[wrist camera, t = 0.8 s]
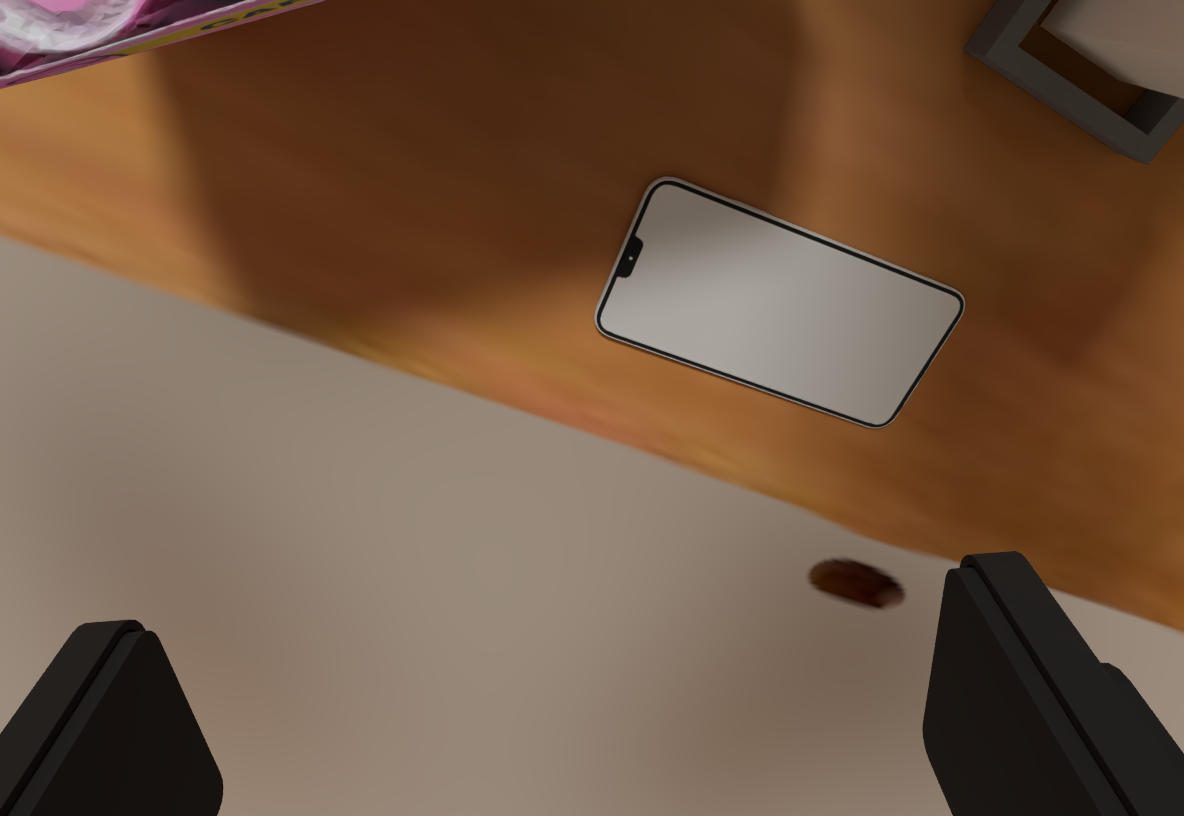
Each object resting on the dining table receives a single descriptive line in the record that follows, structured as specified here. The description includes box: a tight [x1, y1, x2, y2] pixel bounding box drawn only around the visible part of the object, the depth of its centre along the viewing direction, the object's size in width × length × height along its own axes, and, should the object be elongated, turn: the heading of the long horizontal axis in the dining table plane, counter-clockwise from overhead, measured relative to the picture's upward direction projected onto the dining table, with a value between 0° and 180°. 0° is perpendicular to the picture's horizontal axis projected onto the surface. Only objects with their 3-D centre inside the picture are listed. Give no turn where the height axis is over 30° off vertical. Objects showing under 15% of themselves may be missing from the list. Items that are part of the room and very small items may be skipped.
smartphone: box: [594, 176, 965, 428], centre depth 37 cm, size 7×1×15 cm
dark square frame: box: [963, 0, 1184, 165], centre depth 30 cm, size 8×8×2 cm
